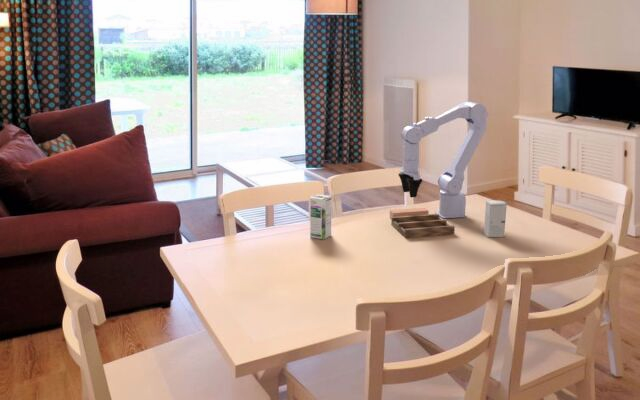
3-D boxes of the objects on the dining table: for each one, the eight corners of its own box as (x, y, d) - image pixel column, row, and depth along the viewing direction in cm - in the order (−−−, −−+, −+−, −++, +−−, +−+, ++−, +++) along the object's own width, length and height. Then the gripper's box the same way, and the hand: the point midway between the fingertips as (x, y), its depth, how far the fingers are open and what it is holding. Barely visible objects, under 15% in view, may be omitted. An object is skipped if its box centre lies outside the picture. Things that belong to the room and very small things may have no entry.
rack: (437, 221, 244) (437, 213, 243) (454, 234, 230) (454, 226, 229) (391, 224, 241) (391, 217, 240) (405, 238, 226) (405, 229, 225)
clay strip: (424, 216, 252) (424, 207, 251) (428, 219, 248) (428, 210, 247) (389, 218, 249) (389, 210, 248) (392, 221, 245) (393, 213, 244)
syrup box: (309, 237, 227) (309, 197, 224) (317, 232, 232) (317, 193, 229) (324, 240, 225) (323, 199, 221) (332, 235, 230) (331, 195, 226)
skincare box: (488, 237, 226) (490, 204, 222) (483, 233, 230) (485, 200, 227) (505, 236, 226) (507, 203, 223) (499, 232, 231) (502, 199, 228)
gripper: (394, 155, 248) (393, 190, 252) (406, 163, 234) (406, 200, 238) (411, 154, 250) (410, 189, 253) (425, 162, 236) (424, 198, 240)
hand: (409, 194), depth 246 cm, fingers open, 7 cm apart
